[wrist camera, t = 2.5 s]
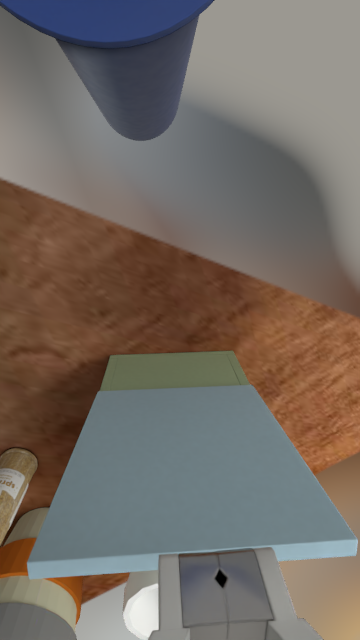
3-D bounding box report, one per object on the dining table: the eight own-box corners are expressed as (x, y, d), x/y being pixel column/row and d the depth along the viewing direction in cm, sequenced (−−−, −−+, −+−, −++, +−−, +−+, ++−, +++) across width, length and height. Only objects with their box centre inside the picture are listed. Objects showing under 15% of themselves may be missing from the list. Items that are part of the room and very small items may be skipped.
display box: (227, 462, 44) (242, 515, 37) (119, 468, 43) (112, 524, 36) (232, 350, 39) (251, 386, 31) (110, 355, 38) (98, 392, 31)
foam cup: (130, 528, 47) (121, 645, 34) (133, 474, 44) (124, 581, 31) (199, 528, 47) (214, 642, 35) (206, 475, 44) (225, 580, 32)
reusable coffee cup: (-17, 541, 46) (-95, 694, 32) (32, 481, 43) (-28, 619, 29) (63, 577, 49) (26, 730, 35) (115, 523, 46) (97, 666, 32)
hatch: (357, 556, 15) (358, 539, 14) (28, 580, 14) (26, 563, 14) (252, 393, 31) (252, 384, 31) (98, 399, 30) (97, 391, 30)
